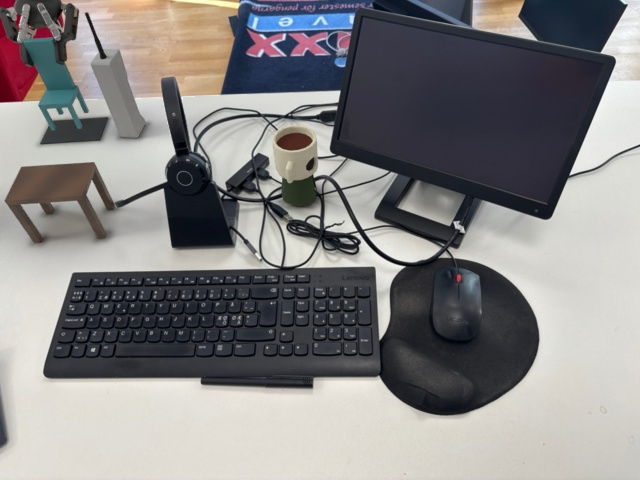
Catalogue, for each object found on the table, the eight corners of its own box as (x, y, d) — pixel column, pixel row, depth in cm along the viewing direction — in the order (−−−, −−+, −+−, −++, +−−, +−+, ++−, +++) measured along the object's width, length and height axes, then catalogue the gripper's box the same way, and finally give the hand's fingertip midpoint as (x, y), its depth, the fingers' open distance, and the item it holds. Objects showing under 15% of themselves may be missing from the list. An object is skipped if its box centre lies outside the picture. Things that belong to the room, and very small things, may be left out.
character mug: (313, 221, 88) (309, 162, 78) (273, 216, 89) (264, 158, 79) (324, 177, 95) (322, 118, 85) (287, 174, 96) (280, 115, 86)
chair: (89, 110, 107) (55, 37, 94) (81, 128, 103) (45, 54, 91) (60, 112, 107) (22, 39, 94) (51, 130, 103) (11, 56, 91)
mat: (40, 144, 105) (40, 143, 105) (51, 121, 110) (51, 120, 110) (100, 140, 105) (99, 139, 105) (108, 118, 110) (107, 116, 110)
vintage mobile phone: (146, 123, 108) (103, 3, 89) (138, 138, 105) (92, 17, 86) (129, 123, 108) (82, 3, 89) (120, 138, 105) (70, 17, 86)
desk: (33, 243, 87) (4, 200, 80) (47, 209, 92) (21, 166, 85) (105, 238, 87) (82, 195, 80) (115, 204, 92) (94, 161, 85)
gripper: (-18, -37, 91) (-7, 61, 92) (64, -43, 91) (74, 56, 92) (8, -19, 98) (17, 72, 100) (83, -24, 98) (92, 67, 100)
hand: (44, 64), depth 96 cm, fingers closed on chair, 5 cm apart
